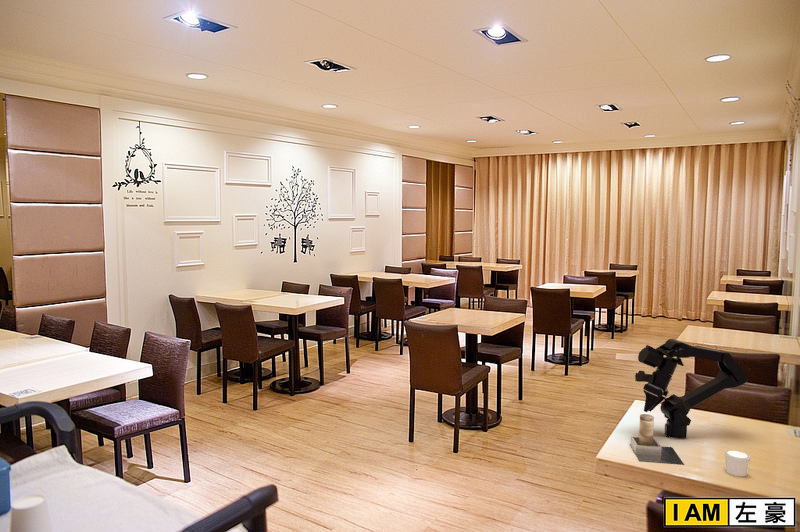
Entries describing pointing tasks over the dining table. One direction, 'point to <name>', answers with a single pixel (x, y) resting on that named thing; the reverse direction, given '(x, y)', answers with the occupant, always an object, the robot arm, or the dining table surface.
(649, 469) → the dining table surface
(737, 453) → the white cylinder
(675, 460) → the dock plate
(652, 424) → the beige wooden block
